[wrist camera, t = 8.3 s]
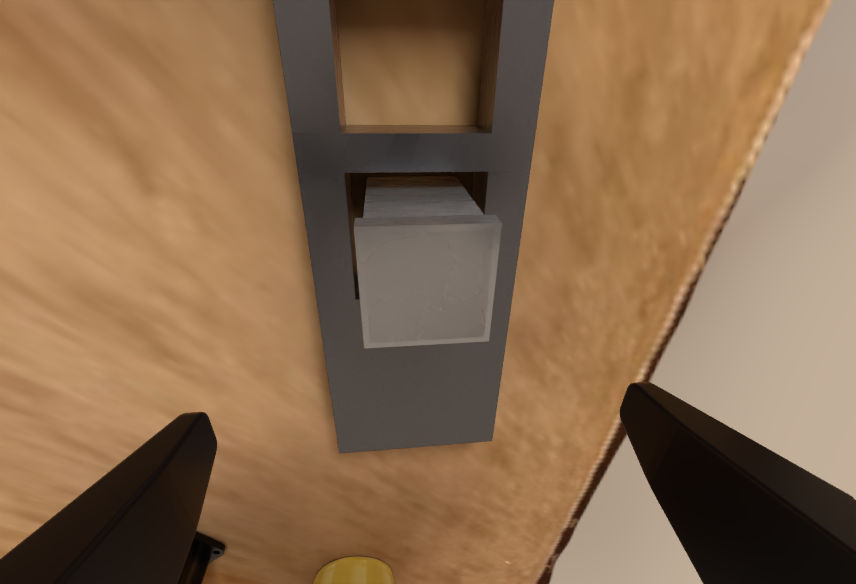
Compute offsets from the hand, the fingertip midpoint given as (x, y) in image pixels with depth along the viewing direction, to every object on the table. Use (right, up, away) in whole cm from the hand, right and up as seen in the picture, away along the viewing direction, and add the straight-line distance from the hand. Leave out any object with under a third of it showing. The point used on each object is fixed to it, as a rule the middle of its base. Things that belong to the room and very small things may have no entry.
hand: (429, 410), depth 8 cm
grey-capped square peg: (-1, +6, +10) cm, 12 cm away
